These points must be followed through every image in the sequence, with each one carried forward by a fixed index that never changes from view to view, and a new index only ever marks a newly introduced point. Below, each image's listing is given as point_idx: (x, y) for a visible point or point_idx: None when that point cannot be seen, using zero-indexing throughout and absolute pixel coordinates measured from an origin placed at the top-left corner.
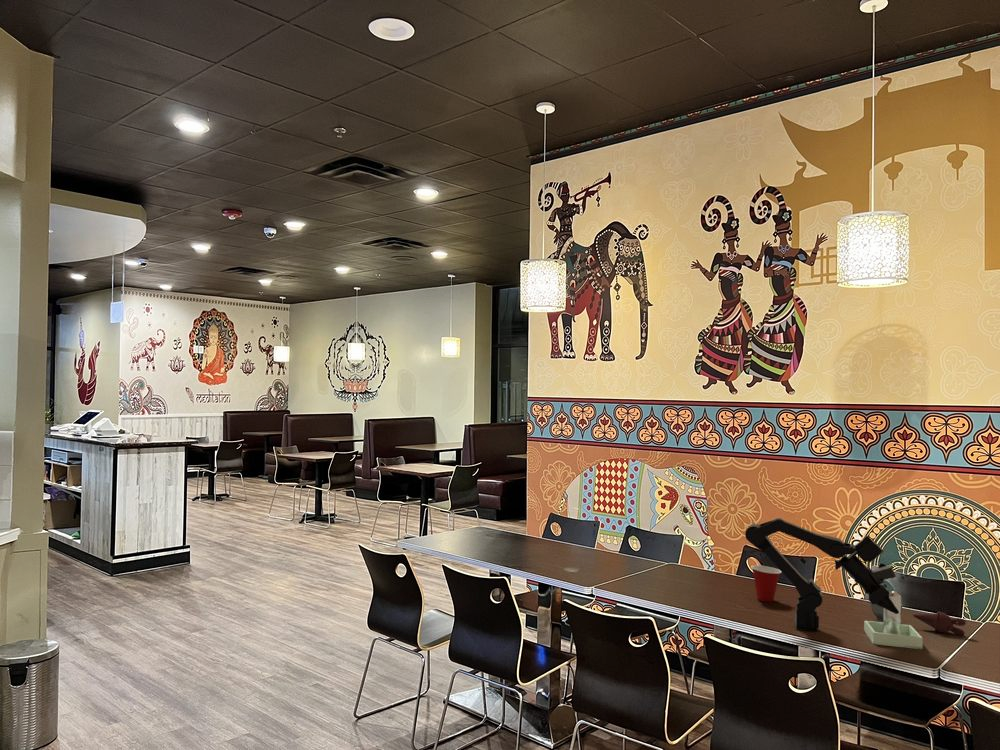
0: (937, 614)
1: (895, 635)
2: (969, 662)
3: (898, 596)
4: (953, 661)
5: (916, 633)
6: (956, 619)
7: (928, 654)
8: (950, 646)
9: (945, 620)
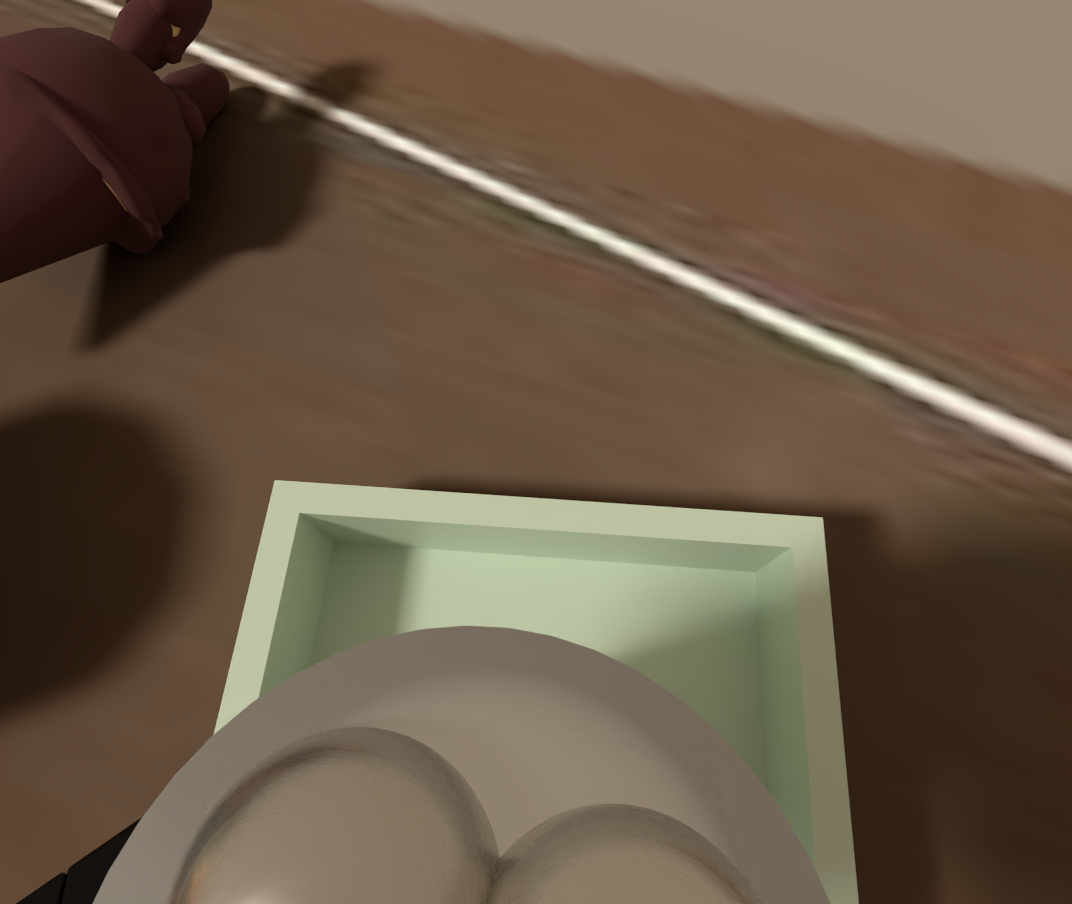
0: (43, 103)
1: (851, 869)
2: (990, 281)
3: (712, 801)
4: (1040, 393)
5: (650, 530)
6: (159, 7)
7: (929, 546)
8: (565, 275)
9: (143, 98)
